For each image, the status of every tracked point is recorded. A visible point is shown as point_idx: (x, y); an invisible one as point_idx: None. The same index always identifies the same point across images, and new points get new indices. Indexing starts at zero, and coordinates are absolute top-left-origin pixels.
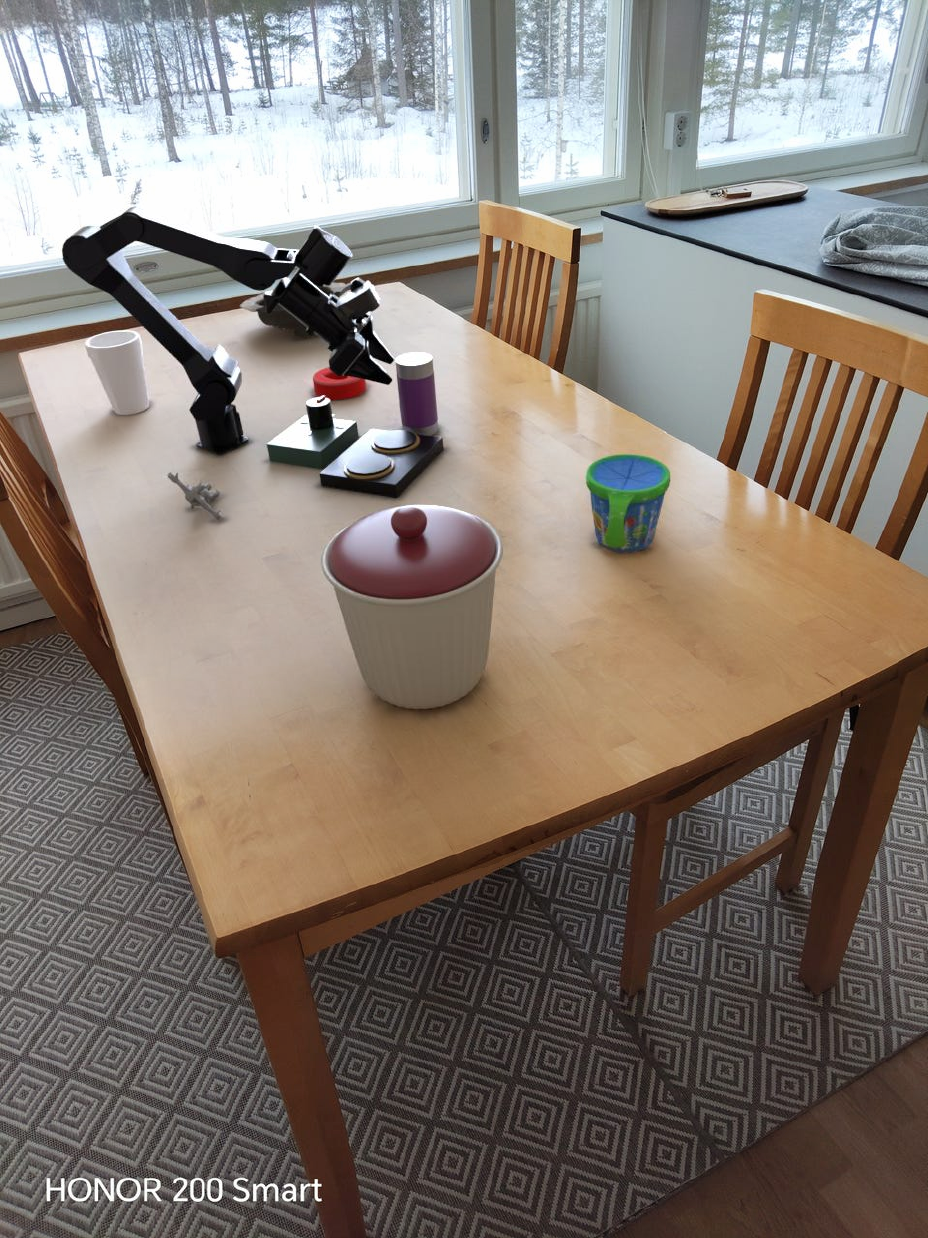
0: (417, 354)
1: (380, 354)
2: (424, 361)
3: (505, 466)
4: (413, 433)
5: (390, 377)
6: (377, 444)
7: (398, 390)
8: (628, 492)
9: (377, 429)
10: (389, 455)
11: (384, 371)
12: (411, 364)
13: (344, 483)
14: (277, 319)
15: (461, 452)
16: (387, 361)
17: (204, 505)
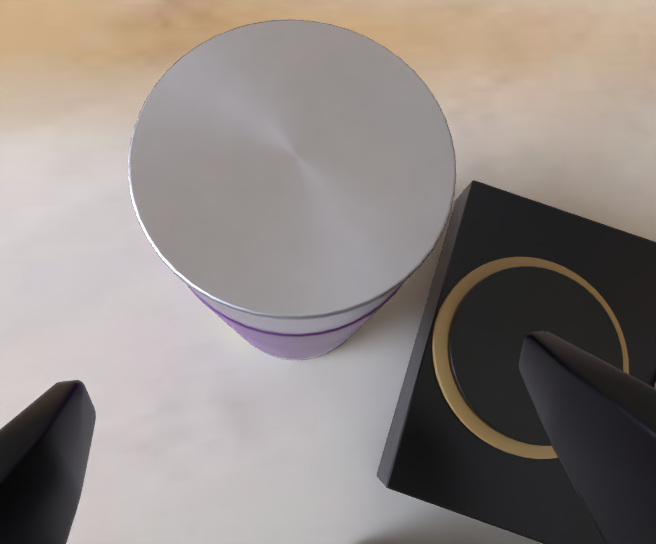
0: (190, 136)
1: (45, 518)
2: (368, 72)
3: (557, 26)
4: (485, 281)
5: (554, 341)
6: None
7: (334, 339)
8: None
9: (401, 453)
10: (638, 362)
11: (625, 380)
12: (435, 165)
13: None
14: None
15: (471, 144)
16: (84, 439)
17: None
